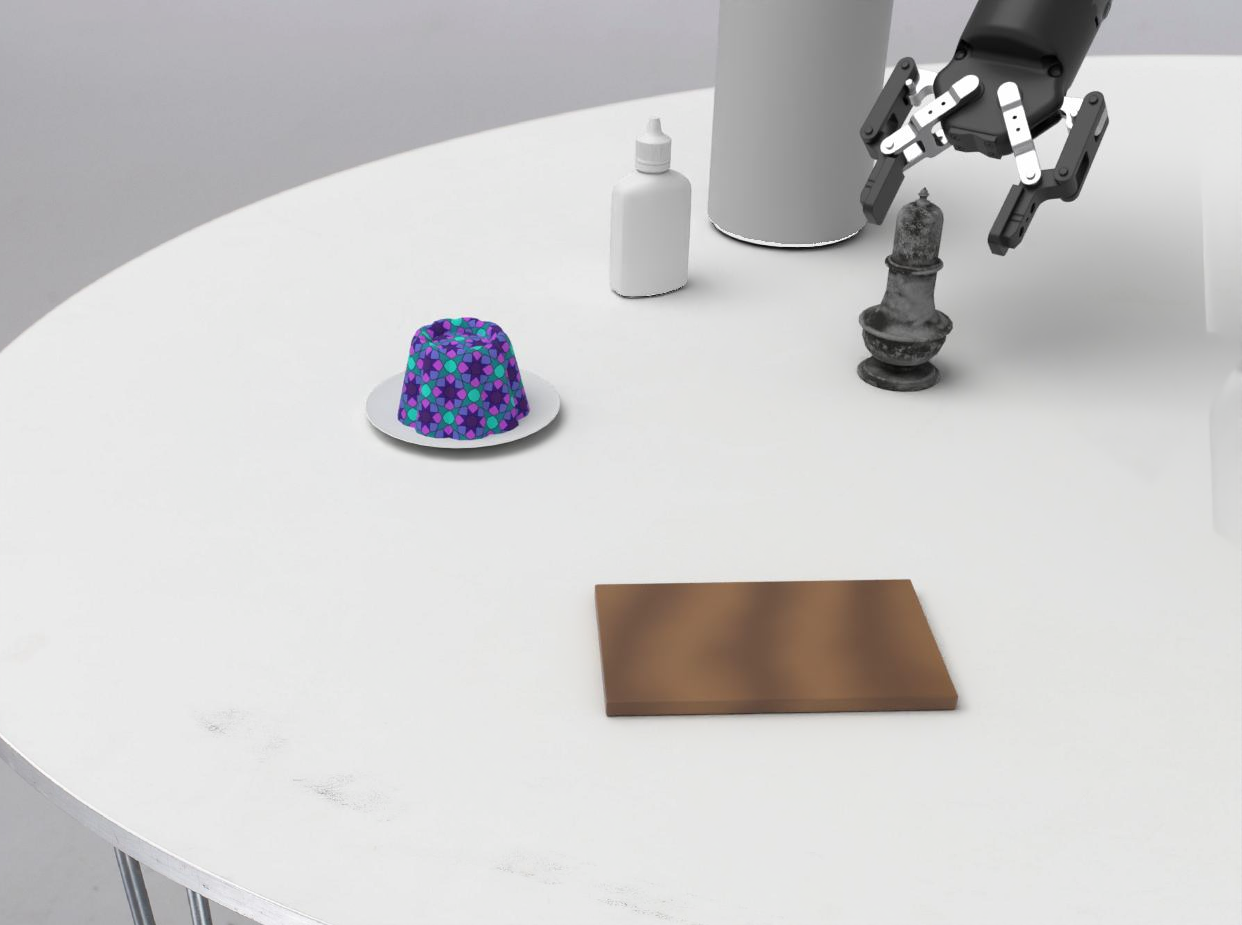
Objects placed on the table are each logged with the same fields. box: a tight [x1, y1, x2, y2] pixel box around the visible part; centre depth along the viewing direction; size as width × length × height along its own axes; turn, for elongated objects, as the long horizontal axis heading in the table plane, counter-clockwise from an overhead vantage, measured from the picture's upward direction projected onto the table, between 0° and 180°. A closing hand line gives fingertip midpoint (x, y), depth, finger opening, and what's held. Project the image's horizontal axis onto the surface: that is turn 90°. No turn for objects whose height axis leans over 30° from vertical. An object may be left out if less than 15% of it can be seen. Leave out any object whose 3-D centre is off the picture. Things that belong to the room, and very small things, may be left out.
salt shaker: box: [856, 186, 954, 392], centre depth 96 cm, size 6×6×12 cm
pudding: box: [364, 316, 561, 449], centre depth 93 cm, size 12×12×5 cm
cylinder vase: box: [707, 0, 895, 244], centre depth 114 cm, size 12×12×25 cm
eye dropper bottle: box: [608, 115, 692, 297], centre depth 107 cm, size 4×6×12 cm
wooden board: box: [594, 578, 959, 717], centre depth 74 cm, size 16×10×1 cm, turn 92°
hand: (931, 233), depth 95 cm, fingers open, 8 cm apart
